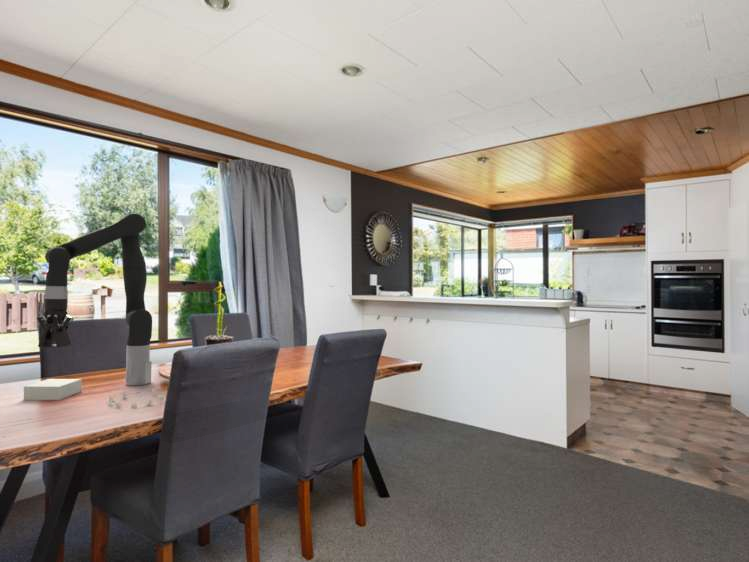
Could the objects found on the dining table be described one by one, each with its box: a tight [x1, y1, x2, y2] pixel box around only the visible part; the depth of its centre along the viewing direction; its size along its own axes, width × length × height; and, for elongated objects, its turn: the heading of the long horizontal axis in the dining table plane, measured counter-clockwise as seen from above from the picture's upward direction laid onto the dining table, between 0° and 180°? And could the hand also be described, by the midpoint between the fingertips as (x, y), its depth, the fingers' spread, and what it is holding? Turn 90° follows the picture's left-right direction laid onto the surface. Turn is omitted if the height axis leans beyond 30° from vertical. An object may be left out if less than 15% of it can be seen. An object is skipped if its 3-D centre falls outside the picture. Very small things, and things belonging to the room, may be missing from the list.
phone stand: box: [37, 316, 72, 348], centre depth 179 cm, size 9×6×12 cm, turn 91°
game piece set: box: [106, 388, 164, 409], centre depth 172 cm, size 19×20×4 cm
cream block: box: [23, 378, 83, 401], centre depth 179 cm, size 13×14×5 cm
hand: (54, 341), depth 179 cm, fingers closed on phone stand, 1 cm apart
